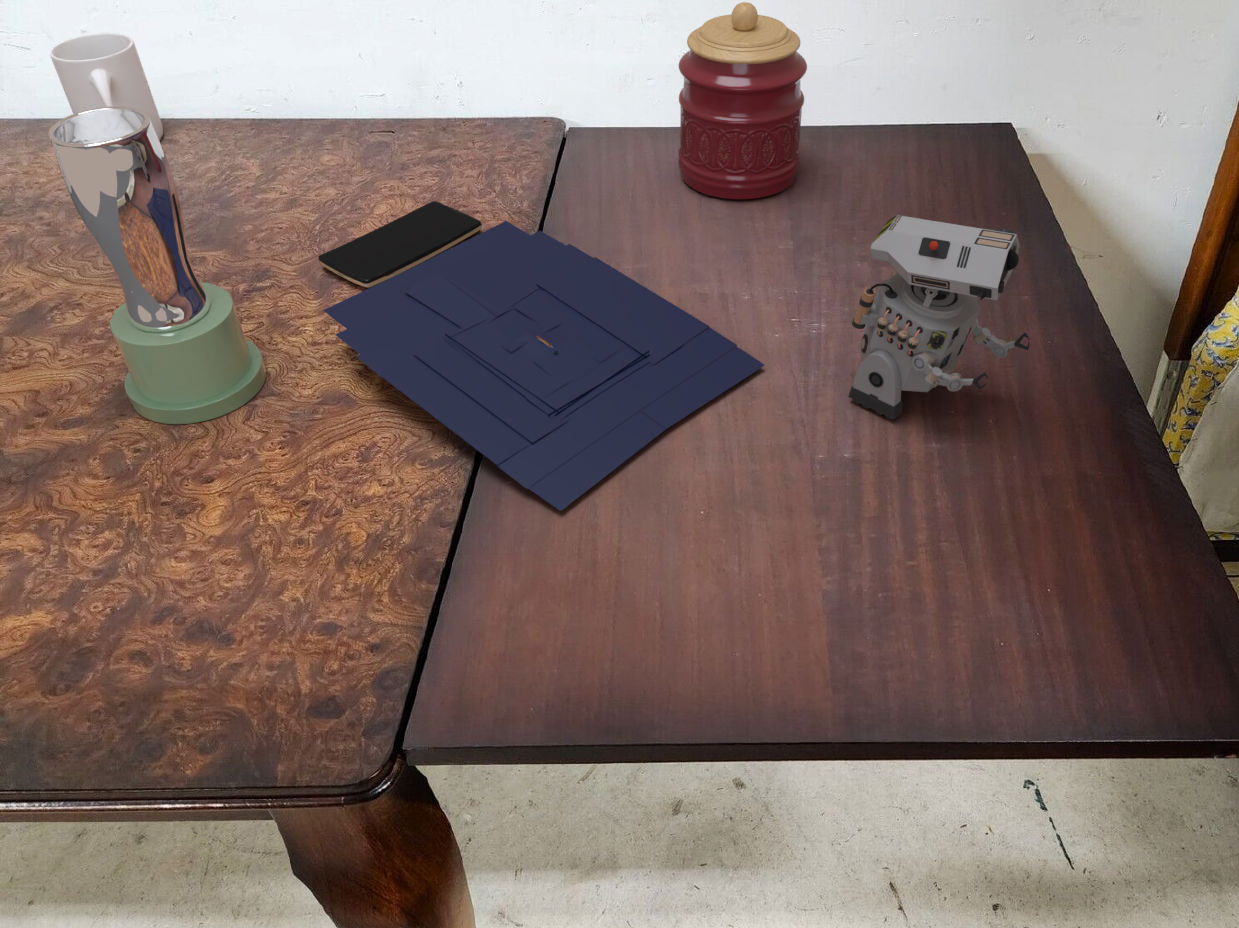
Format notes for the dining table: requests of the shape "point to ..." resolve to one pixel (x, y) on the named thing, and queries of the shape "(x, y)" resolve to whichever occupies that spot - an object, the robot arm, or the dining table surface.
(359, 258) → the smartphone
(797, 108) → the kitchen canister
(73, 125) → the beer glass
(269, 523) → the dining table surface
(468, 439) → the papers
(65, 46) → the mug
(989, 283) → the figurine
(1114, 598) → the dining table surface
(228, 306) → the flowerpot
